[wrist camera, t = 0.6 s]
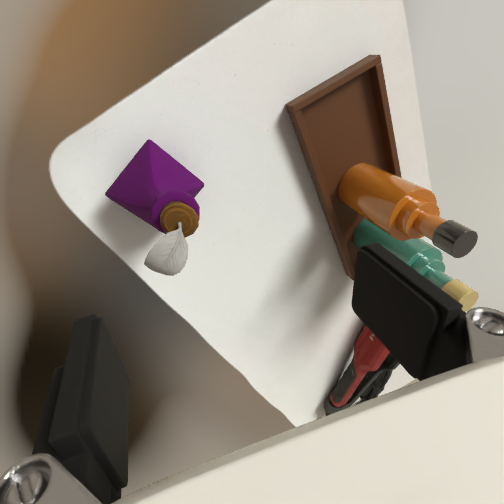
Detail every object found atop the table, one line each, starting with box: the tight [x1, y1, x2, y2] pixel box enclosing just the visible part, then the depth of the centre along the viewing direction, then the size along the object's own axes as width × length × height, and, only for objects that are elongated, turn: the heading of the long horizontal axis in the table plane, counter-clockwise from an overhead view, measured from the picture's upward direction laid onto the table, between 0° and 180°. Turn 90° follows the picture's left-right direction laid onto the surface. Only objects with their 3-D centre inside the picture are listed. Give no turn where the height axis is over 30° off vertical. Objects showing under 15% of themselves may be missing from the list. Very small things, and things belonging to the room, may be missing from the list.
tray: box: [285, 55, 401, 280], centre depth 46 cm, size 30×12×2 cm, turn 25°
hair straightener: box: [324, 325, 400, 416], centre depth 66 cm, size 16×40×8 cm, turn 165°
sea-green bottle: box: [353, 218, 478, 312], centre depth 44 cm, size 6×6×18 cm
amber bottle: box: [338, 163, 478, 258], centre depth 39 cm, size 6×6×18 cm
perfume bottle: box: [105, 140, 204, 276], centre depth 30 cm, size 8×8×18 cm
